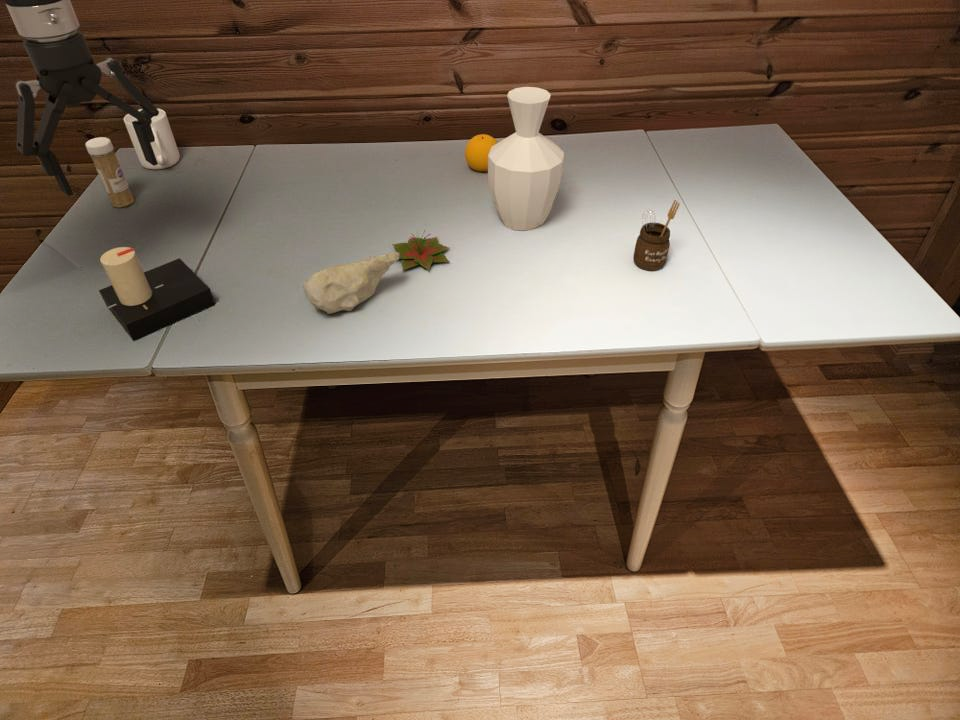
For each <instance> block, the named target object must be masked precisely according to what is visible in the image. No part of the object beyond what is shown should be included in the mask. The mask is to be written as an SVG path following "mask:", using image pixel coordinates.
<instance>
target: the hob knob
mask: <svg viewBox="0 0 960 720" xmlns="http://www.w3.org/2000/svg"><path fill="white" fill-rule="evenodd" d="M100 263H101V265H102V267H103V270H104V272H105V273H106V275H107V277H108V279H109V282H110V284H111V285H112V286H113V288H114V290H115V292H116V294H117V296H118V298H119V300H120V302H121V303H122V304H123V305H126V306H135V305H139V304H142V303H144V302H146V301H147V300H149V299H150V297H151V296H152V290H151V288H150V286H149V284H148V281H147V279H146V277H145V274H144V272H145V271H144V270H143V268H142V266H141V262H140V261H139V258H138V256H137V254H136V252H135V250H134V248H133V247H127V246H119V247H114V248H112V249H110V250H107V251H105V252H104V253H103V254H102V255H101V257H100Z"/></svg>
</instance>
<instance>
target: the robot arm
mask: <svg viewBox="0 0 960 720" xmlns="http://www.w3.org/2000/svg"><path fill="white" fill-rule="evenodd" d="M3 2H4V3H5V6H6V8H7V10H8V12H9V15H10V17H11V20H12V22H13V24H14V26H15V29H16V32H17V33H18V35H19V36H21V37H23V40H22V44H23V47H24V49H25V51H26V53H27V55H28V57H29V60H30V62H31V65H32V66H33V68H34V71H35V75H36V78H35V79H33V80H26V81H25V80H24V81H23V80H21V79H15V80H14V81H13V86H14V87H15V88H14V89H15V91H16V94H17V98H18V100H17V101H18V102H17V123H16V125H17V126H16V147H15V148H16V149H17V150H18V152H20V153H21V154H22V155H24V156H25V157H32V156H36V158H37V160H38V162H39V164H40V166H41V168H42V170H43V172H44V173H45V174H46V175H48V176H49V177H53V176H54V178H55V180H56V182H57V184H58V186H59V189H60V190H61V191H62V192H63V193H64V194H65V195H67V196H68V197H71V196H73V195H74V193H73V190H72V188H71V186H70V184H69V183H70V182H68V179H67V177H66V175H65V173H64V170H63V169H62V167H61V164H60V163H59V160H58V158H57V156H56V154H55V153H54V152H53V151H51V149H50V148H51V145H52V142H53V139H54V136H55V133H56V130H57V128H58V125H59V122H60V119H61V117H62V115H63V114H64V113H65V111H66V107H67V106H70V107H75V106H78V105H80V104H82V103H89V102H93V101H94V99H95V98H96V97H97V95H98V96H99V97H101V98H102V99H103V100H105V101H107V102H109V103H110V104H112V105H113V106H115V107H117V108H118V109H120V110H121V111H122V112H125V113H126V114H130V115H131V116H133V117H134V118H136V119H137V121H133V122H132V124H133V127H134V130H135V132H136V135H137V138H138V141H139V143H140V146H141V149H142V151H143V154H144V157H145V160H146V161H147V162H149V163H150V164H152V165H153V166H154V165H157V164H158V163H157V160H156V157H155V154H154V151H153V149H152V146H151V142H154V141H155V137H154V134H153V131H152V128H151V126H150V124H151V123H152V120H151V118H152V117H154V116H157V115H158V114H159V111H158V109H159V108H157V107H156V106H155V105H154V104H153V103H152V102H151V101H150V100H149V99H148V98H147V97H146V96H145V95H144V93H142V91H141V90H140V89H138V87H137V86H136V85H135V84H134V83H133V82H132V81H131V79H129V78H128V77H127V76H126V75H125V73H124V71H123V69H122V66H121V65H120V63H119V62H118V61H117V60H115V59H114V58H111V57H110V56H105V57H104V58H103V61H100V62H98V63H96V62H95V60H94V58H93V56H92V53H91V51H90V48H89V45H88V42H87V40H86V37H85V35H84V32H82V31H81V30H79V28H80V26H81V25H80V22H79V19H78V17H77V14H76V12H75V10H74V6H73V5H72V2H71V0H3ZM103 73H104V74H105V75H106V76H108V77H110V78H112V79H113V80H114V81H115V82H116V83H117V84H118V85H119V86H120V87H121V88H122V89H123V90H124V91H125V92H126V93H127V94H128V95H129V96H130V97H131V98H132V99H133V100H134V101H135V102H136V103H137V104H138V105H139V106H140V107H141V109H142V110H141V111H138V110H139V109H137V108H135V107H133V106H132V105H130V104H128V103H127V102H125V101H124V100H123V99H121V98H119V97H117V96H116V95H114V94H113V93H111V92H109V91H108V90H106V89H105V88H103V87H101V86H100V83H101V79H102V74H103ZM39 90H42V91H43V92H45V93H46V94H47V96H46V99H45V101H44V105H45V106H44V110H43V112H42V115H41V118H40V121H39V124H38V127H37V130H36V133H35V116H36V115H35V113H36V102H35V99H36V98H37V97H38V92H39Z"/></svg>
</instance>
